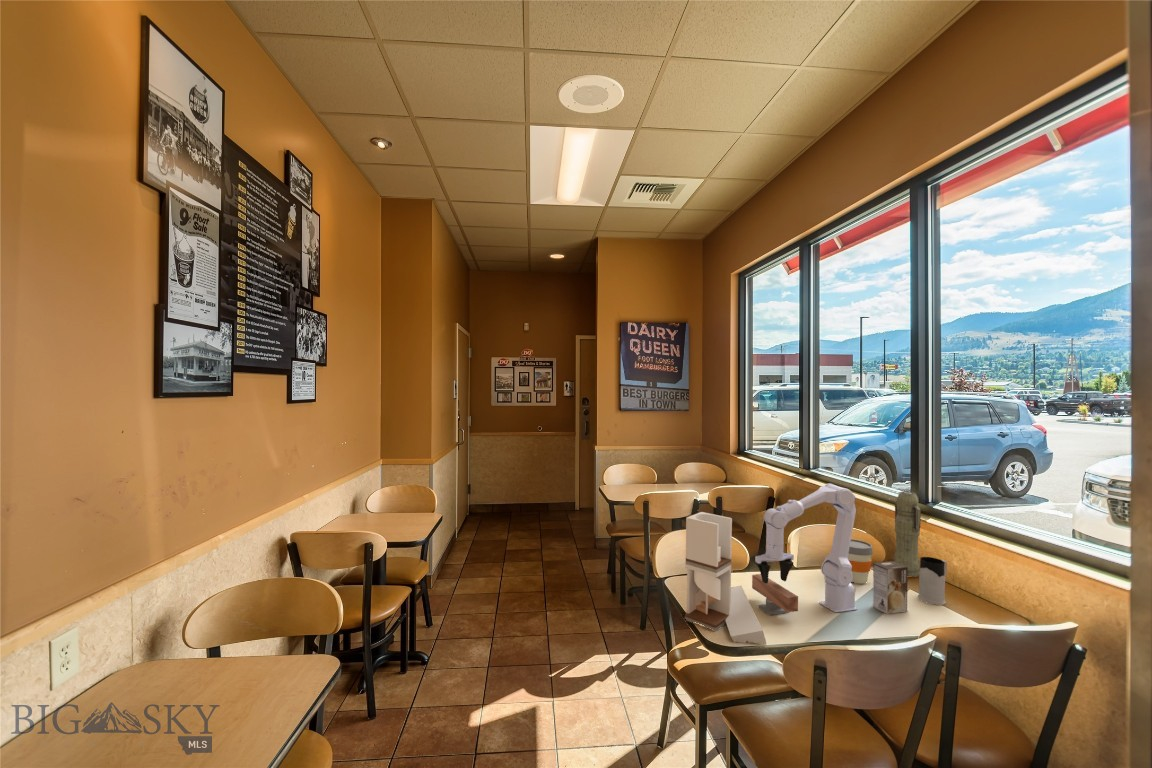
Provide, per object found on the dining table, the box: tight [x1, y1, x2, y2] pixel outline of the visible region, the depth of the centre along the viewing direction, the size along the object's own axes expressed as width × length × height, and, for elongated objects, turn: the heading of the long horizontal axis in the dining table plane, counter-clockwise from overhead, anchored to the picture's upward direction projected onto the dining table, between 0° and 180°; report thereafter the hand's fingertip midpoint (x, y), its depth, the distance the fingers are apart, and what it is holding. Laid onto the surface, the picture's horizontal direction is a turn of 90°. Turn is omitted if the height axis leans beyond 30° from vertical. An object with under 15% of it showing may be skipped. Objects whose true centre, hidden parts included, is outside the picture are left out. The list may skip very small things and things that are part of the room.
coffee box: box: [872, 560, 908, 615], centre depth 178 cm, size 9×6×16 cm
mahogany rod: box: [751, 573, 799, 613], centre depth 176 cm, size 4×20×5 cm, turn 15°
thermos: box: [893, 491, 922, 577], centre depth 212 cm, size 9×12×35 cm
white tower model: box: [684, 511, 733, 632], centre depth 168 cm, size 11×11×35 cm
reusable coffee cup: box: [848, 538, 874, 584], centre depth 205 cm, size 12×13×15 cm
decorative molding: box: [725, 585, 767, 645], centre depth 171 cm, size 34×5×10 cm
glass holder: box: [917, 556, 948, 606], centre depth 188 cm, size 9×14×15 cm, turn 117°
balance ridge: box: [758, 597, 790, 616], centre depth 176 cm, size 8×6×4 cm
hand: (774, 581), depth 176 cm, fingers open, 7 cm apart
